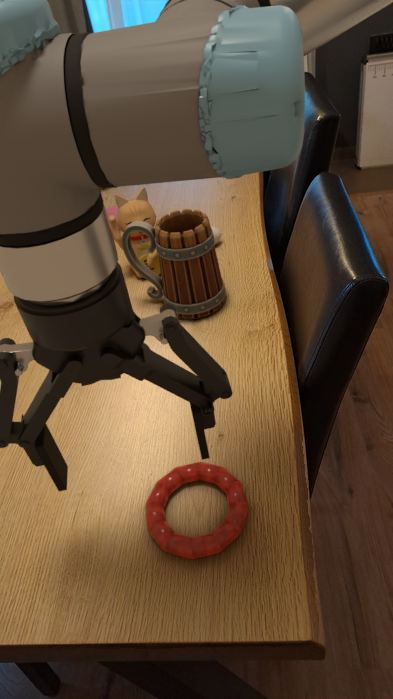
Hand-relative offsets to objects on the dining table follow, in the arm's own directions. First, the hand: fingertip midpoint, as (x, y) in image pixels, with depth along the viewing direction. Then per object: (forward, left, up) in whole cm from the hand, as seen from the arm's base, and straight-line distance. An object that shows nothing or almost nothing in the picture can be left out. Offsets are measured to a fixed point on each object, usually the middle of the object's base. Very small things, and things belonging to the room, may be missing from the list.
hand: (133, 463), depth 47 cm
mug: (-9, -40, -11) cm, 42 cm away
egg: (-17, -57, -11) cm, 60 cm away
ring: (-5, 0, -10) cm, 11 cm away
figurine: (-4, -53, -11) cm, 54 cm away
